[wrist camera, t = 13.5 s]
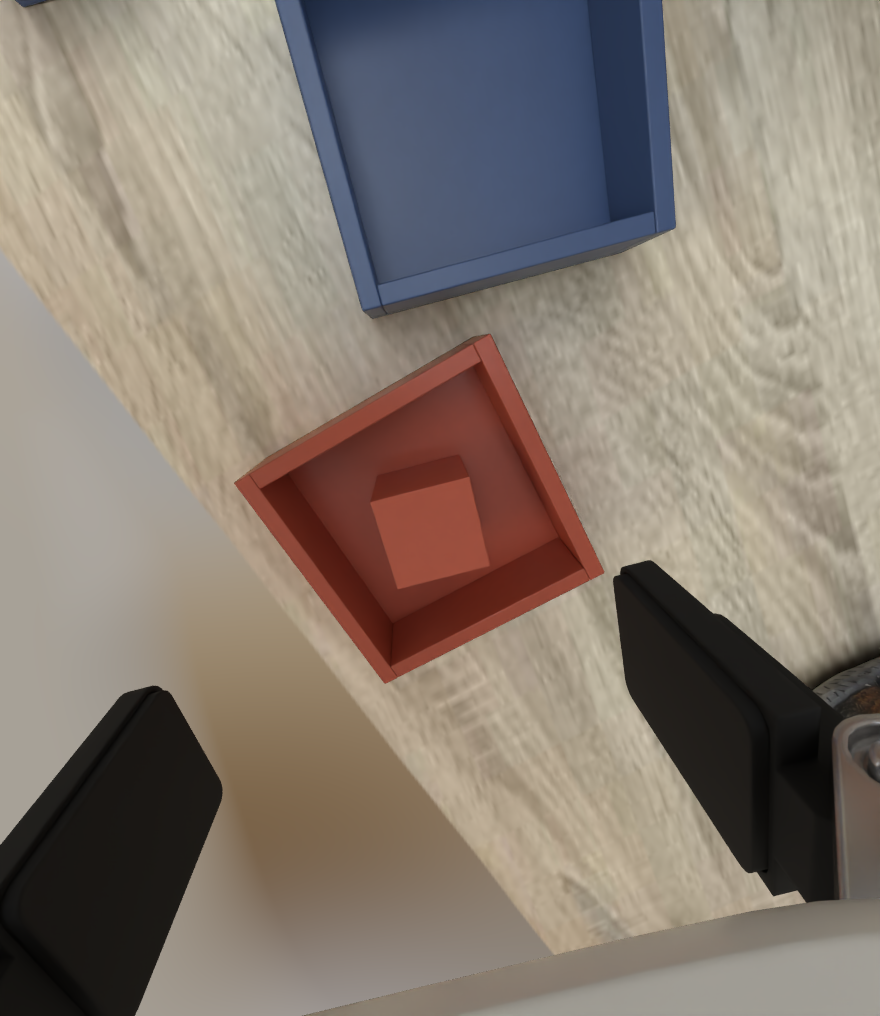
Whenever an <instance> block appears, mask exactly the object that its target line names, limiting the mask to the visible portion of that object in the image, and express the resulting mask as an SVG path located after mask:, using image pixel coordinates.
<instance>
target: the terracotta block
mask: <svg viewBox="0 0 880 1016" xmlns="http://www.w3.org/2000/svg"><path fill="white" fill-rule="evenodd" d="M370 504H371V507H372V510H373V513H374V516H375V519H376V523H377V526H378V529H379V532H380V535H381V538H382V541H383V545H384V548H385V551H386V554H387V557H388V560H389V563H390V567H391V570H392V573H393V576H394V579H395V582H396V586H397V588H398V589H401V588H405V587H409V586H413V585H417V584H421V583H425V582H429V581H432V580H436V579H440V578H444V577H448V576H452V575H456V574H460V573H464V572H468V571H472V570H476V569H480V568H484V567H488V566H490V562H489V558H488V554H487V549H486V545H485V541H484V536H483V532H482V528H481V524H480V519H479V515H478V511H477V506H476V502H475V498H474V494H473V489H472V485H471V481H470V477H469V475H468V473H467V471H466V469H465V466H464V464H463V462H462V460H461V458H460V456H459V455H454V456H450V457H447V458H443V459H439V460H435V461H431V462H427V463H423V464H419V465H416V466H412V467H408V468H404V469H400V470H396V471H392V472H388V473H384V474H381V475H377V477H376V481H375V485H374V489H373V493H372V497H371V501H370Z"/></svg>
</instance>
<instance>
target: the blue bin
mask: <svg viewBox="0 0 880 1016" xmlns="http://www.w3.org/2000/svg"><path fill="white" fill-rule="evenodd" d="M275 2H276V6H277V10H278V13H279V17H280V20H281V24H282V27H283V31H284V34H285V38H286V42H287V45H288V49H289V52H290V56H291V59H292V63H293V66H294V70H295V73H296V77H297V81H298V84H299V88H300V91H301V95H302V98H303V102H304V105H305V109H306V113H307V116H308V120H309V123H310V127H311V130H312V134H313V137H314V141H315V144H316V148H317V152H318V155H319V159H320V162H321V166H322V169H323V173H324V176H325V180H326V183H327V187H328V191H329V194H330V198H331V201H332V205H333V208H334V212H335V215H336V219H337V223H338V226H339V230H340V233H341V237H342V240H343V244H344V247H345V251H346V254H347V258H348V262H349V265H350V269H351V272H352V276H353V279H354V283H355V286H356V290H357V294H358V297H359V301H360V304H361V308H362V310H363V311H364V312H365V313H366V314H367V315H369V316H370V317H371V318H372V319H374V318H377V317H381V316H385V315H389V314H392V313H396V312H400V311H404V310H407V309H411V308H415V307H419V306H422V305H426V304H430V303H434V302H438V301H441V300H445V299H449V298H453V297H456V296H460V295H464V294H468V293H471V292H475V291H479V290H483V289H486V288H490V287H494V286H498V285H501V284H505V283H509V282H513V281H517V280H520V279H524V278H528V277H532V276H535V275H539V274H543V273H547V272H550V271H554V270H558V269H562V268H565V267H569V266H573V265H577V264H580V263H584V262H588V261H592V260H596V259H599V258H603V257H607V256H611V255H614V254H618V253H622V252H624V251H626V250H628V249H630V248H633V247H635V246H637V245H639V244H642V243H644V242H646V241H648V240H650V239H653V238H655V237H657V236H659V235H662V234H664V233H666V232H668V231H670V230H673V229H674V228H675V227H676V220H675V204H674V188H673V171H672V155H671V139H670V122H669V106H668V90H667V73H666V57H665V41H664V24H663V8H662V0H275Z"/></svg>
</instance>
